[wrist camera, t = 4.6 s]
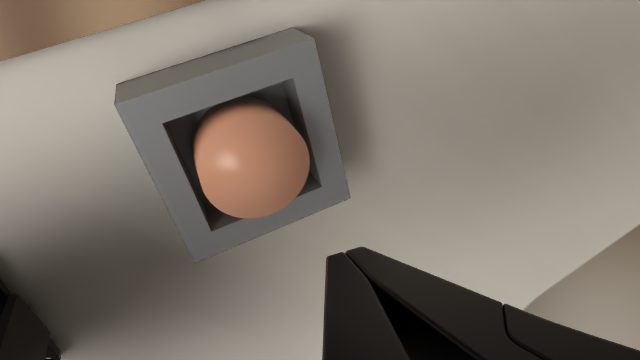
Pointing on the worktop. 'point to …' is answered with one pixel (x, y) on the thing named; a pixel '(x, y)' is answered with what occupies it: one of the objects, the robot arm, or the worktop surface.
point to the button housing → (216, 87)
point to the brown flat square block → (68, 20)
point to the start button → (249, 158)
